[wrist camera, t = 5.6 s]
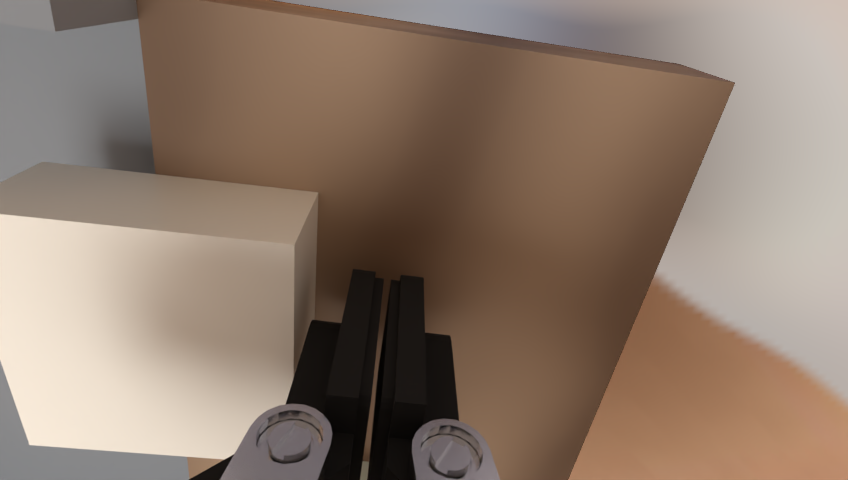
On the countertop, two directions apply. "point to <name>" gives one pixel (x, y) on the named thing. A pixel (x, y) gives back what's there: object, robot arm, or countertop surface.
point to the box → (75, 145)
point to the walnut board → (449, 185)
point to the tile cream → (151, 306)
